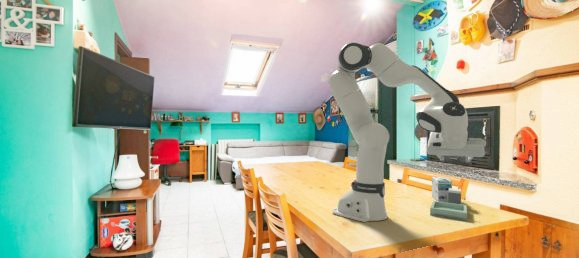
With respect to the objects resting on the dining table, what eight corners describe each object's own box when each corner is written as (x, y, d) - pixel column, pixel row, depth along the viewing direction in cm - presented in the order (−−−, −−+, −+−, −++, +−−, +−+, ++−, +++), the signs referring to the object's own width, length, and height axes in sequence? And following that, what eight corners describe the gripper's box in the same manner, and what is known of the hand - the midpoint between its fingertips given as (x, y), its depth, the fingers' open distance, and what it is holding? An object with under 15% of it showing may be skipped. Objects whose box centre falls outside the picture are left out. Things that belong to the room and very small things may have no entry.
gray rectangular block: (448, 207, 127) (448, 190, 127) (448, 204, 131) (448, 188, 131) (460, 209, 124) (461, 191, 124) (461, 206, 129) (461, 189, 129)
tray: (430, 214, 116) (430, 207, 116) (432, 207, 127) (432, 200, 127) (466, 220, 109) (466, 213, 109) (466, 212, 120) (466, 205, 120)
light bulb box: (452, 202, 134) (452, 180, 134) (437, 202, 136) (437, 180, 136) (444, 197, 145) (445, 176, 145) (431, 196, 146) (431, 176, 146)
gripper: (486, 132, 104) (484, 155, 113) (426, 132, 115) (428, 153, 123) (487, 144, 100) (485, 168, 109) (425, 143, 111) (427, 164, 120)
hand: (454, 160), depth 116 cm, fingers open, 8 cm apart
